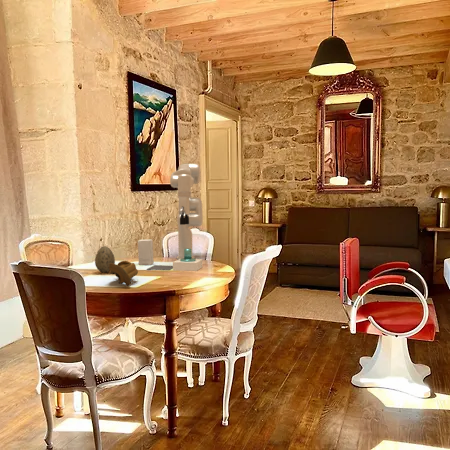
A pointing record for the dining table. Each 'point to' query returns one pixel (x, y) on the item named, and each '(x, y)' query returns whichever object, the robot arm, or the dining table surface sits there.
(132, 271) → the brown looped sculpture
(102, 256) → the decorative egg
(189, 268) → the housing
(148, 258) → the skincare box
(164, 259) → the dining table surface
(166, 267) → the mat
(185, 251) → the end cover
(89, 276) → the dining table surface
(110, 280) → the dining table surface
